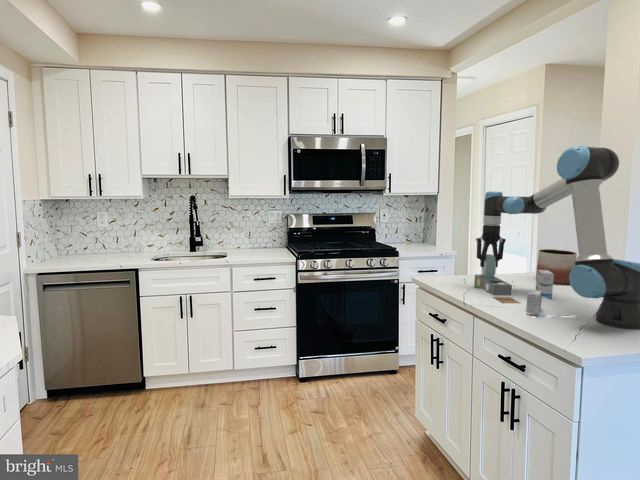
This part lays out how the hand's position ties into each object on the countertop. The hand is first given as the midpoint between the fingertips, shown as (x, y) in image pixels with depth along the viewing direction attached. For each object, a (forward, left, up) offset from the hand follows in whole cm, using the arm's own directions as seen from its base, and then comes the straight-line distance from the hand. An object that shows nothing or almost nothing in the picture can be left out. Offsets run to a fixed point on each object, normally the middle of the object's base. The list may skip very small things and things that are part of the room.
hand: (488, 273), depth 209 cm
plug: (0, 0, -4) cm, 4 cm away
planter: (+20, -44, -8) cm, 49 cm away
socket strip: (-5, 0, -8) cm, 9 cm away
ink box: (-13, -20, -8) cm, 25 cm away
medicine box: (-39, -2, -8) cm, 40 cm away
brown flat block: (-24, +2, -8) cm, 25 cm away
